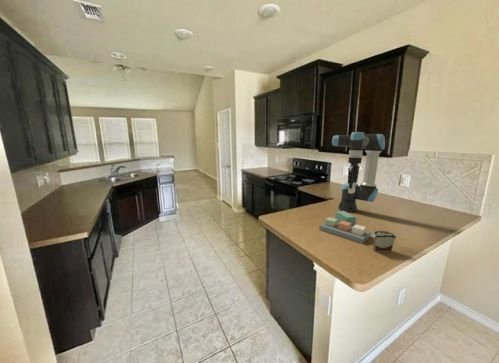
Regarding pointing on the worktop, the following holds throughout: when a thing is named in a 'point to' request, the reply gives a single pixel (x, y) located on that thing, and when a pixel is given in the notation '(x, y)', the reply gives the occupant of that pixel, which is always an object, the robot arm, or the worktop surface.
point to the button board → (345, 233)
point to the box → (345, 217)
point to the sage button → (331, 222)
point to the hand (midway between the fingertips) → (351, 192)
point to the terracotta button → (344, 225)
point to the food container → (383, 241)
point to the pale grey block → (359, 230)
